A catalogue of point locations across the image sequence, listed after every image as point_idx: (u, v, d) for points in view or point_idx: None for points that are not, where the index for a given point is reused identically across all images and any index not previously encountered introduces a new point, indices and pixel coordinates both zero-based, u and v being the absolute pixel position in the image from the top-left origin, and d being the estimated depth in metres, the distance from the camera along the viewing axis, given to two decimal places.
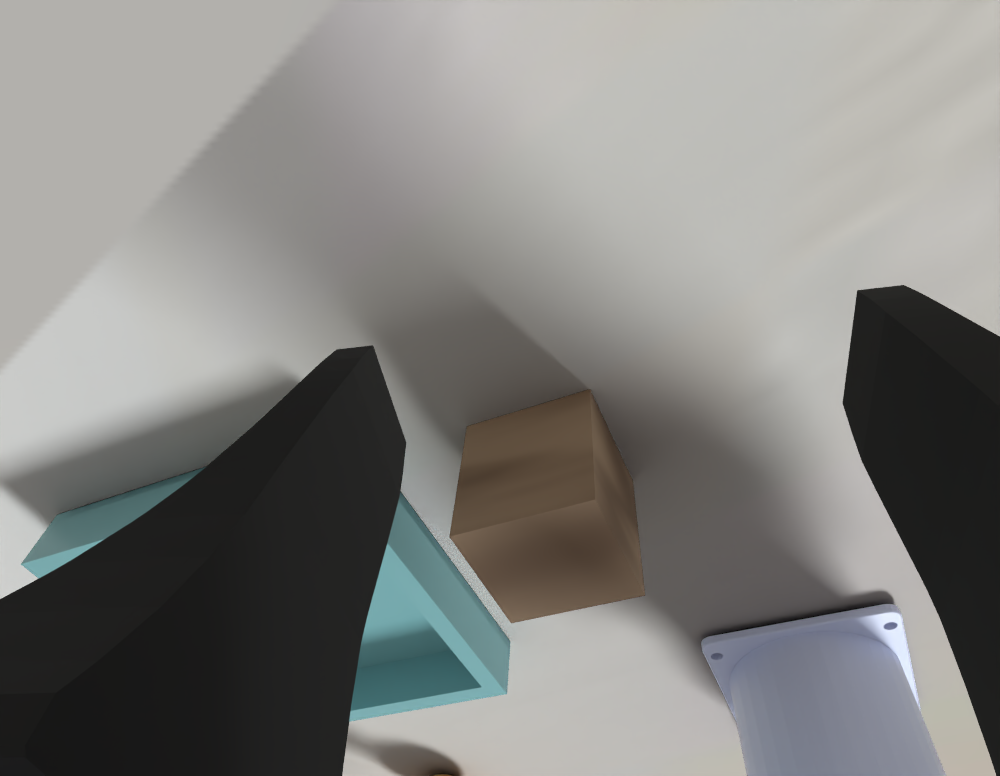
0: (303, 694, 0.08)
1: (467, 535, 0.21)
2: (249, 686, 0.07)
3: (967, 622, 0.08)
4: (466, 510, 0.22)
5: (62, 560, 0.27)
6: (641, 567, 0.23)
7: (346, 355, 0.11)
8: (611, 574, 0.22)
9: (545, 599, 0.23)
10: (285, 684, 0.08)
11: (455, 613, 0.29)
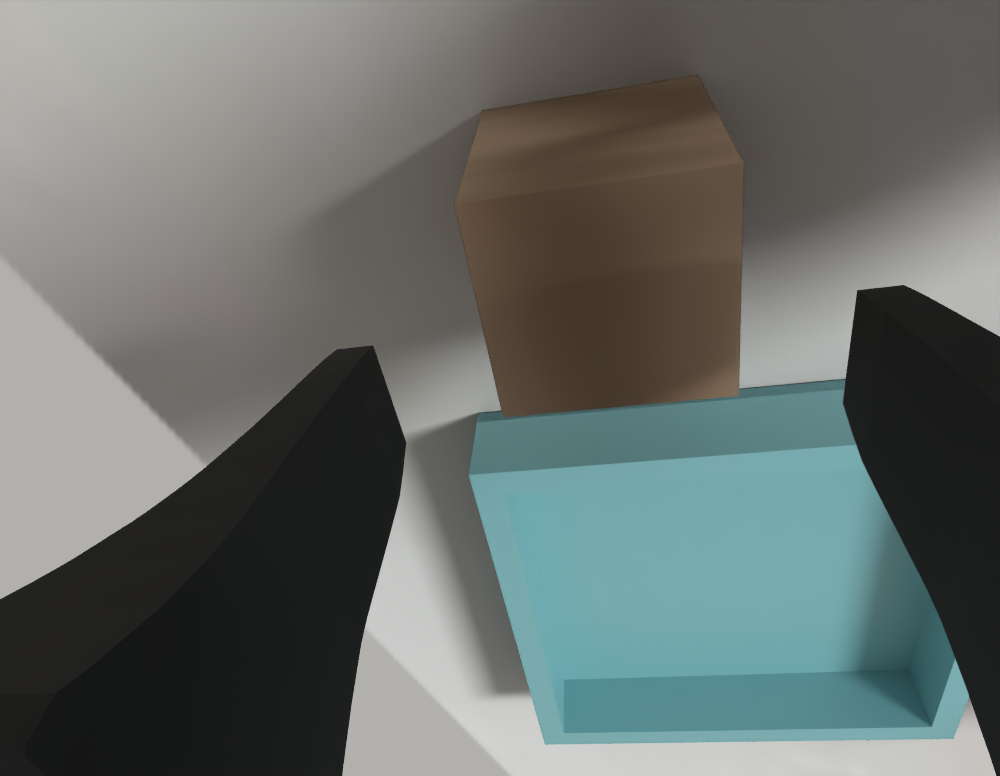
0: (303, 694, 0.08)
1: (506, 395, 0.14)
2: (249, 686, 0.07)
3: (967, 622, 0.08)
4: None
5: (548, 719, 0.26)
6: (729, 140, 0.12)
7: (346, 355, 0.11)
8: (659, 214, 0.12)
9: (693, 332, 0.13)
10: (285, 684, 0.08)
11: (827, 430, 0.18)
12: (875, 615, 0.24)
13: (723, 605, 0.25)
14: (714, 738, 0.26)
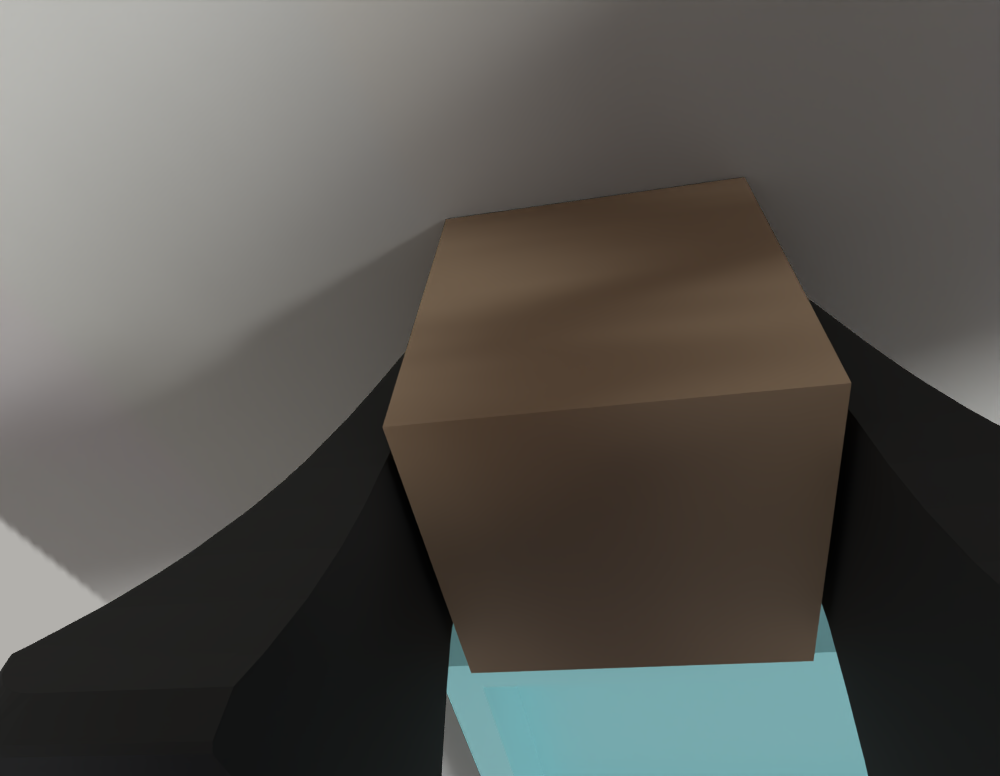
0: (411, 690, 0.08)
1: (474, 650, 0.10)
2: (372, 682, 0.07)
3: (845, 627, 0.08)
4: None
5: None
6: (816, 323, 0.07)
7: None
8: (708, 447, 0.07)
9: (751, 590, 0.09)
10: (398, 680, 0.08)
11: None
12: None
13: (753, 769, 0.20)
14: None
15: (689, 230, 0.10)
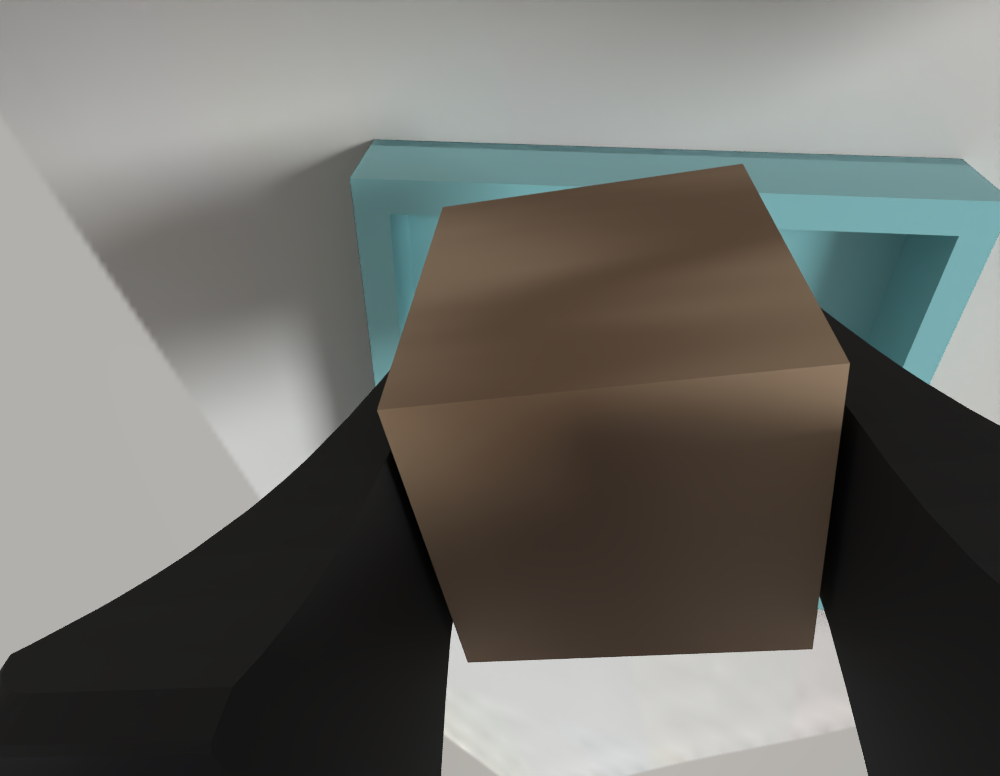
0: (411, 690, 0.08)
1: (471, 638, 0.10)
2: (372, 682, 0.07)
3: (845, 627, 0.08)
4: None
5: None
6: (814, 305, 0.07)
7: None
8: (706, 430, 0.07)
9: (749, 576, 0.08)
10: (398, 680, 0.08)
11: (759, 182, 0.16)
12: None
13: None
14: None
15: (687, 215, 0.10)
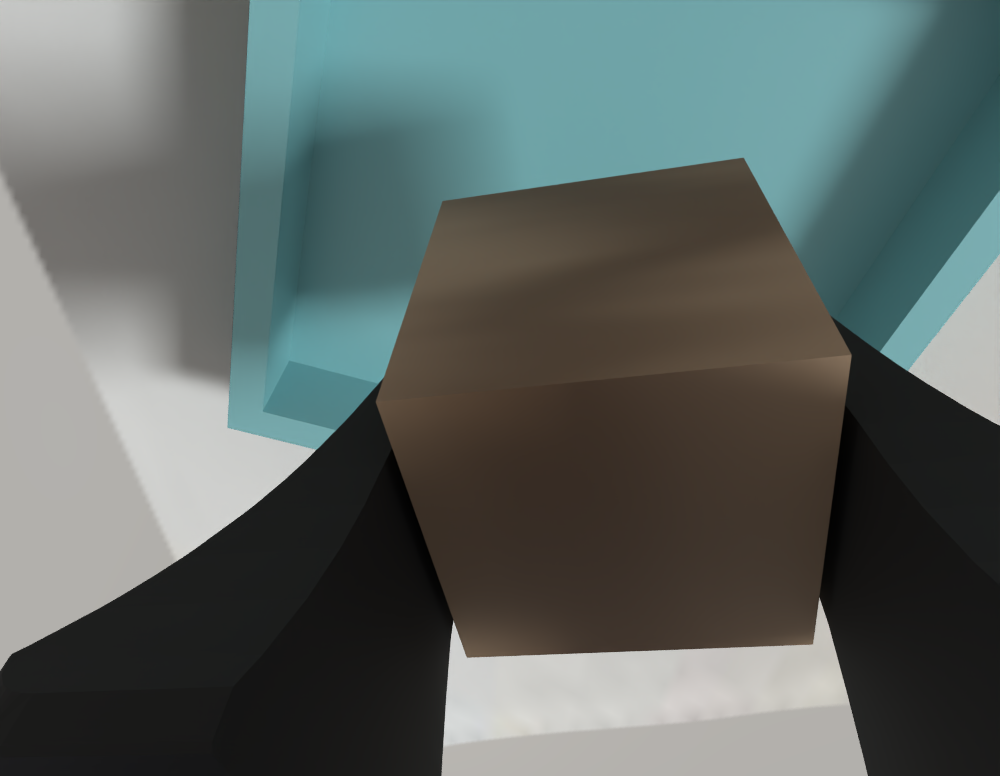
0: (411, 691, 0.08)
1: (470, 633, 0.10)
2: (372, 682, 0.07)
3: (845, 627, 0.08)
4: None
5: (247, 375, 0.17)
6: (815, 297, 0.07)
7: None
8: (706, 422, 0.07)
9: (749, 570, 0.08)
10: (398, 680, 0.08)
11: None
12: None
13: None
14: None
15: (688, 209, 0.09)
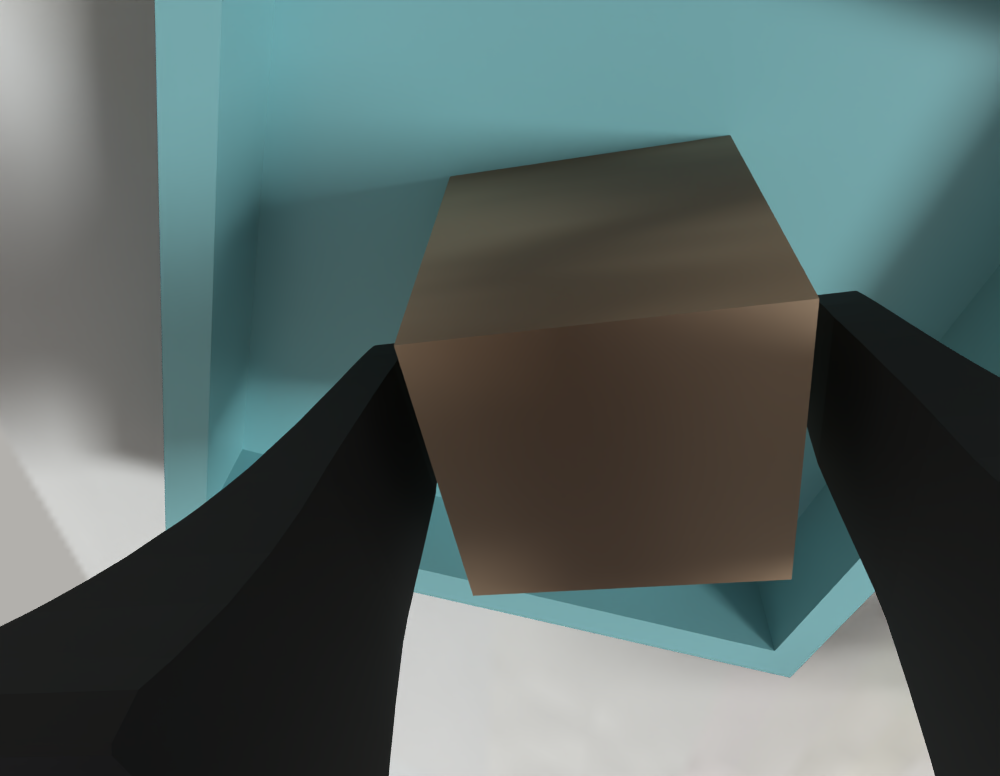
0: (354, 692, 0.08)
1: (476, 572, 0.10)
2: (307, 684, 0.07)
3: (909, 624, 0.08)
4: None
5: (185, 481, 0.14)
6: (790, 252, 0.08)
7: (385, 351, 0.11)
8: (690, 362, 0.08)
9: (732, 507, 0.09)
10: (338, 682, 0.08)
11: None
12: None
13: None
14: (456, 593, 0.15)
15: (677, 180, 0.10)
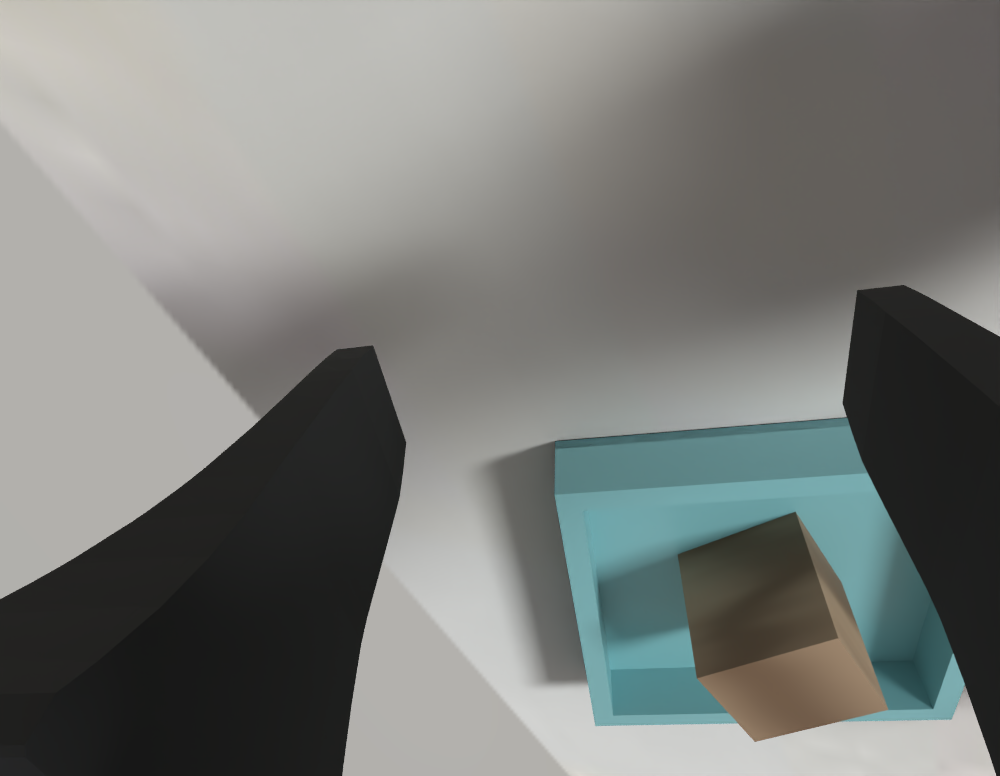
0: (303, 694, 0.08)
1: (753, 733, 0.25)
2: (249, 686, 0.07)
3: (967, 622, 0.08)
4: None
5: (601, 703, 0.30)
6: (827, 608, 0.22)
7: (346, 355, 0.11)
8: (803, 660, 0.22)
9: (846, 693, 0.23)
10: (285, 684, 0.08)
11: (852, 459, 0.22)
12: (885, 613, 0.28)
13: None
14: None
15: (778, 554, 0.24)
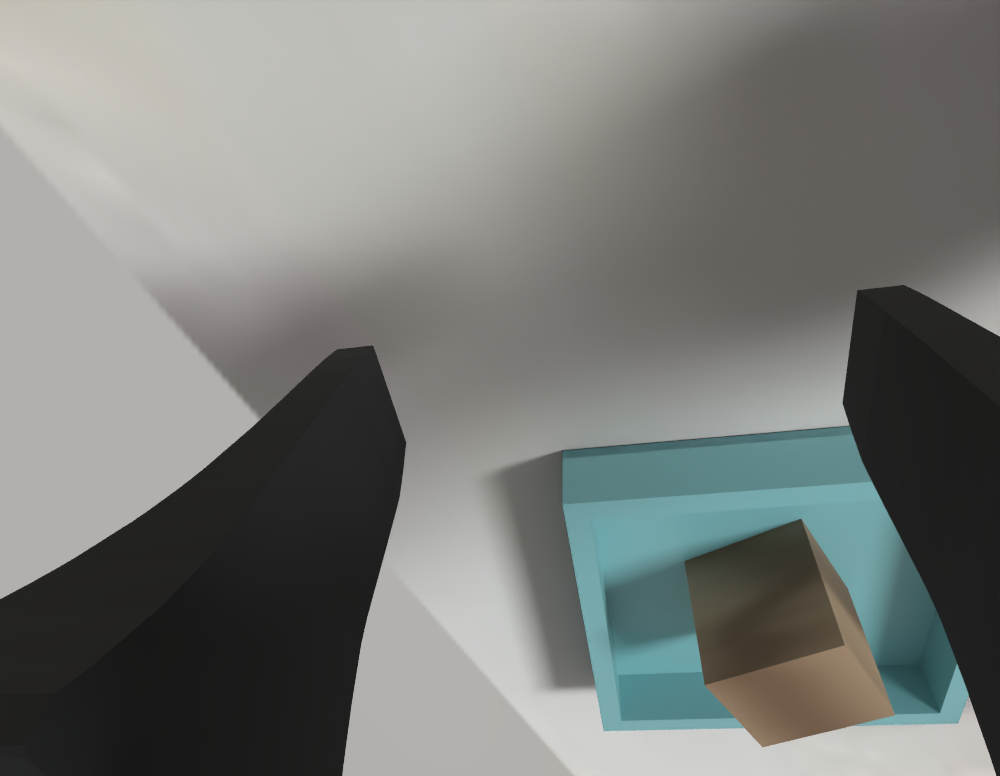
0: (303, 694, 0.08)
1: (760, 739, 0.25)
2: (249, 686, 0.07)
3: (967, 622, 0.08)
4: None
5: (609, 708, 0.30)
6: (833, 615, 0.22)
7: (346, 355, 0.11)
8: (810, 667, 0.22)
9: (853, 699, 0.23)
10: (285, 684, 0.08)
11: (857, 468, 0.22)
12: (891, 618, 0.28)
13: None
14: None
15: (784, 561, 0.25)
